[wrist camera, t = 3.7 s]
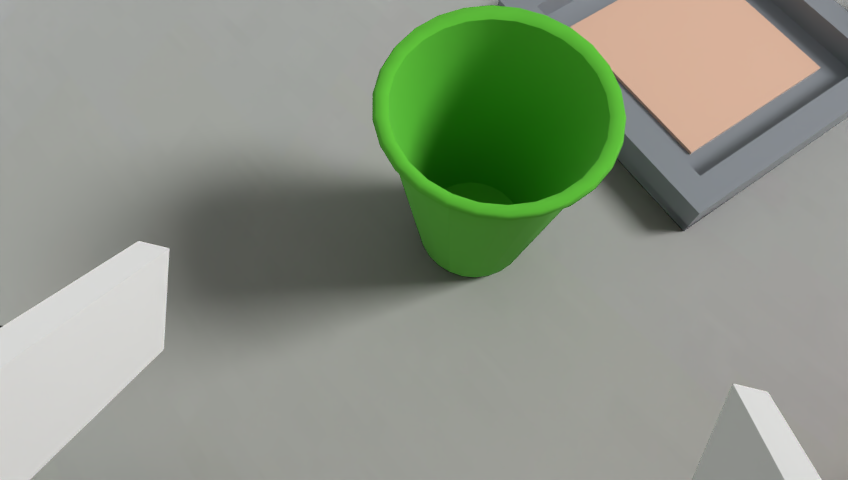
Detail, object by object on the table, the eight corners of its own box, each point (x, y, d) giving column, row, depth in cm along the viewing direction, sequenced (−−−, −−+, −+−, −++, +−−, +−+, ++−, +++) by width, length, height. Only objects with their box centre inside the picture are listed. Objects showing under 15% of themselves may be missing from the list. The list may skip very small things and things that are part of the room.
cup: (586, 196, 35) (661, 57, 25) (518, 349, 31) (573, 261, 21) (430, 129, 36) (440, -29, 26) (349, 269, 33) (324, 149, 23)
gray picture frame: (692, -82, 43) (705, -109, 41) (888, 88, 38) (912, 66, 36) (494, 24, 39) (499, -1, 37) (683, 231, 34) (699, 213, 32)
